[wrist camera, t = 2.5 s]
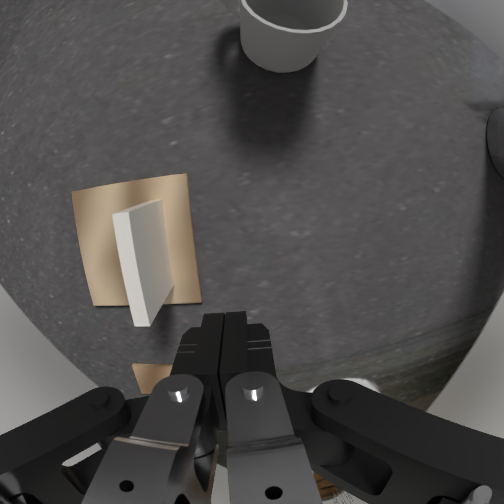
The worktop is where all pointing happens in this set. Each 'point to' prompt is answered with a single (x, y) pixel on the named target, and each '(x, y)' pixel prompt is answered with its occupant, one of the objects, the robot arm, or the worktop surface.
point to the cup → (285, 30)
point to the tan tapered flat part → (150, 375)
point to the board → (105, 246)
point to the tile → (144, 258)
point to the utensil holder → (326, 487)
